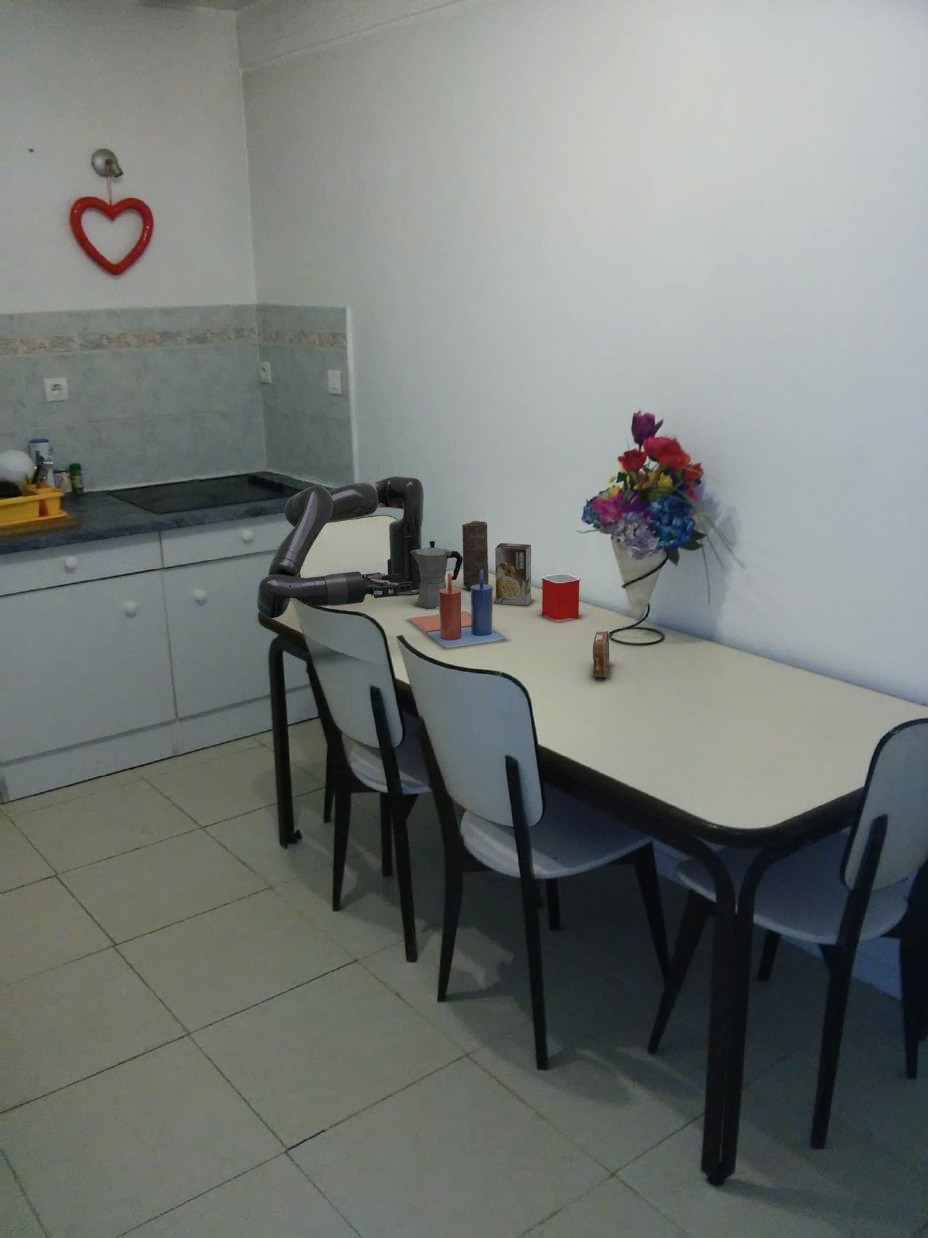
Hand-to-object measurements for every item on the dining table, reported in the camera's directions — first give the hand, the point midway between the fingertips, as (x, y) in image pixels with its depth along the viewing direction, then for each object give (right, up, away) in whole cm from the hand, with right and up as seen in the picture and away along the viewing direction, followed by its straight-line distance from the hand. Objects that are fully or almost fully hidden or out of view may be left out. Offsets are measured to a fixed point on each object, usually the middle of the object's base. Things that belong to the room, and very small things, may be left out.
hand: (406, 581), depth 258 cm
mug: (+39, -8, +28) cm, 48 cm away
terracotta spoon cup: (+10, -13, +9) cm, 19 cm away
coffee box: (+28, -4, +41) cm, 50 cm away
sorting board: (+12, -12, +16) cm, 23 cm away
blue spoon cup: (+18, -12, +12) cm, 25 cm away
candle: (+17, 0, +54) cm, 57 cm away
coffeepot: (+6, -5, +39) cm, 40 cm away
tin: (+45, -21, -15) cm, 52 cm away
